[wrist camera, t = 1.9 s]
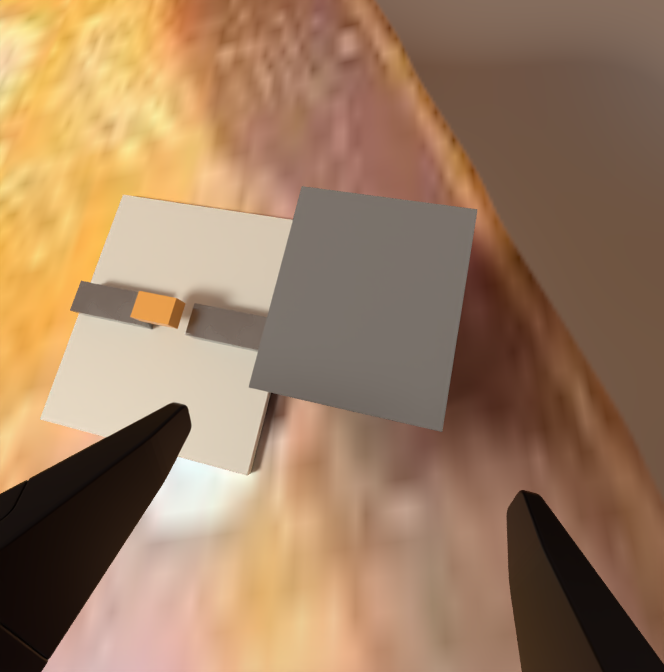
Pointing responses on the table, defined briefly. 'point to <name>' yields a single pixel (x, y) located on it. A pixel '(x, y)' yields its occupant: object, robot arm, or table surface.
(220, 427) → the board
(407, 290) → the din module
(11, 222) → the table surface
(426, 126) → the table surface
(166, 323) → the block
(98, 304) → the din rail
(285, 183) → the table surface
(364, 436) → the table surface
